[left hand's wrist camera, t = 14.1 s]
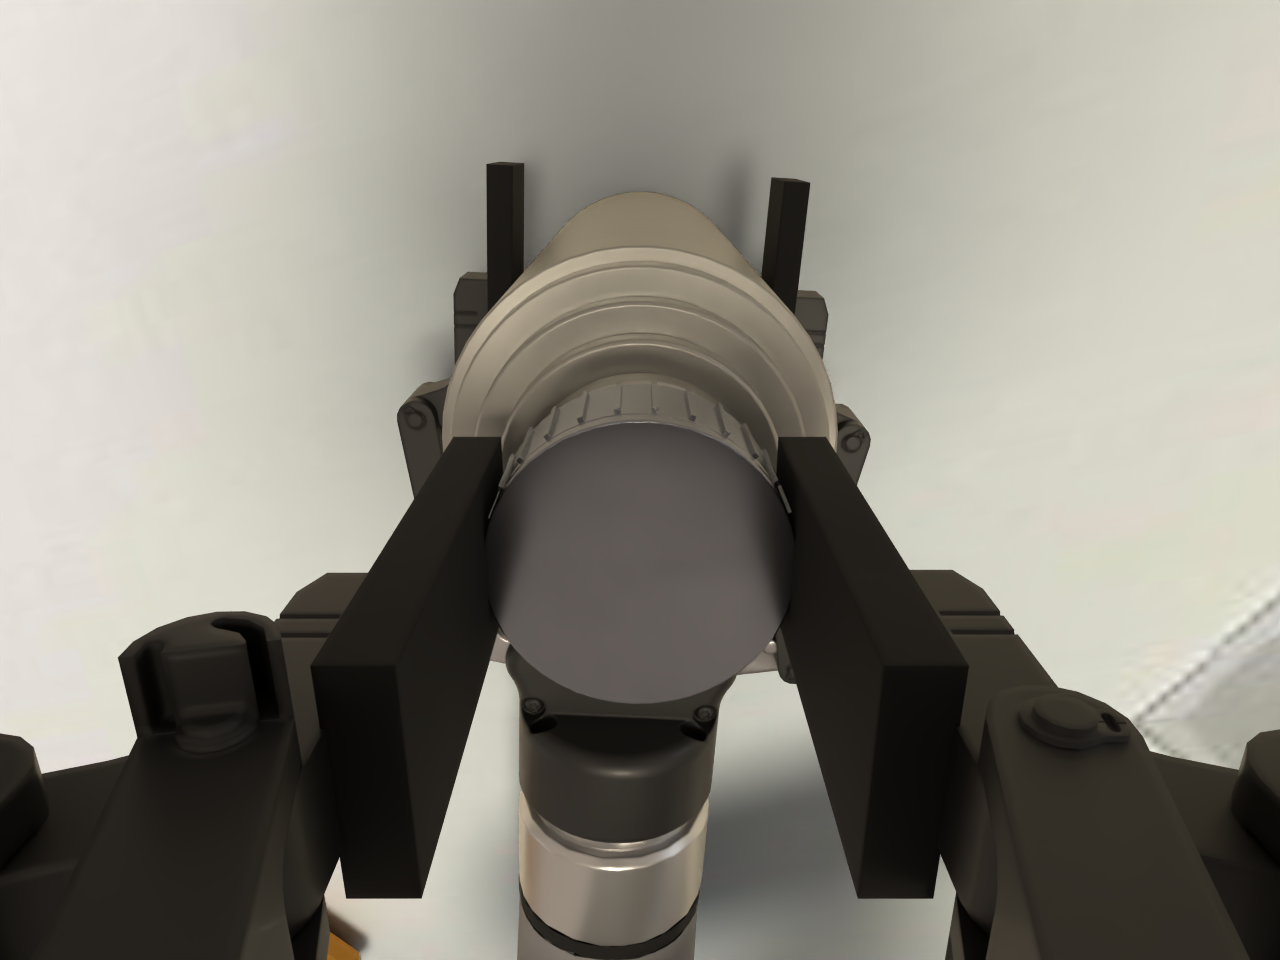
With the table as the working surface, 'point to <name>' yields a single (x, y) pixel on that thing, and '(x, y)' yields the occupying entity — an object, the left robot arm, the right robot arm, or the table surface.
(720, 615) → the cap
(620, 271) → the bottle
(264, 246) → the table surface
